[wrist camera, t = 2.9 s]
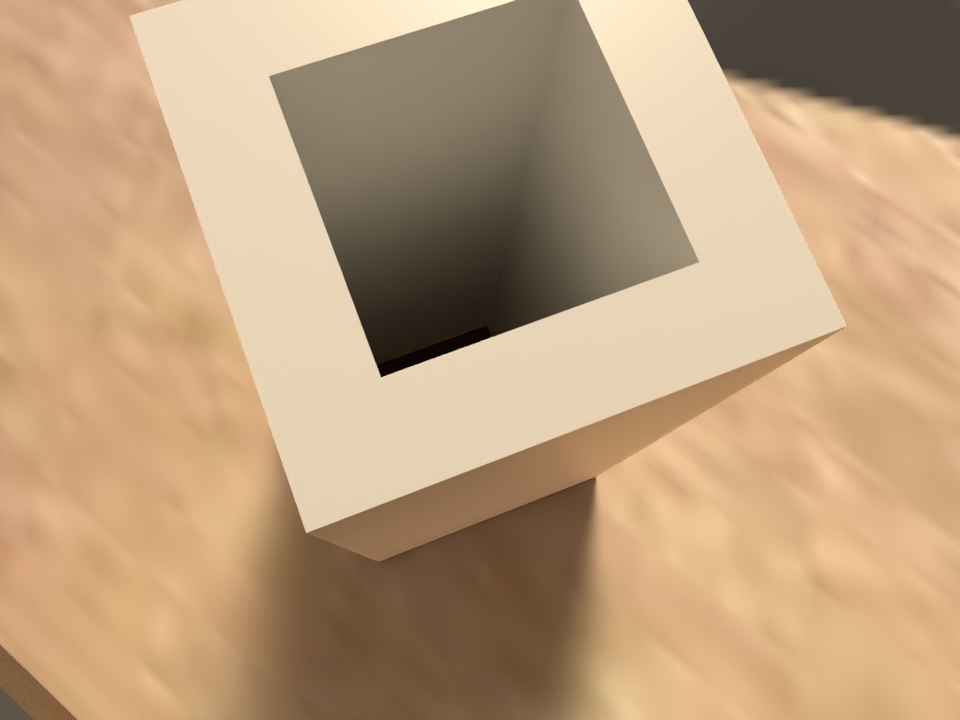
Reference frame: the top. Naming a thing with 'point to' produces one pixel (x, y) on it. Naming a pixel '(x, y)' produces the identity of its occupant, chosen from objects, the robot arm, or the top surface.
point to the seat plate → (25, 694)
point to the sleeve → (477, 240)
